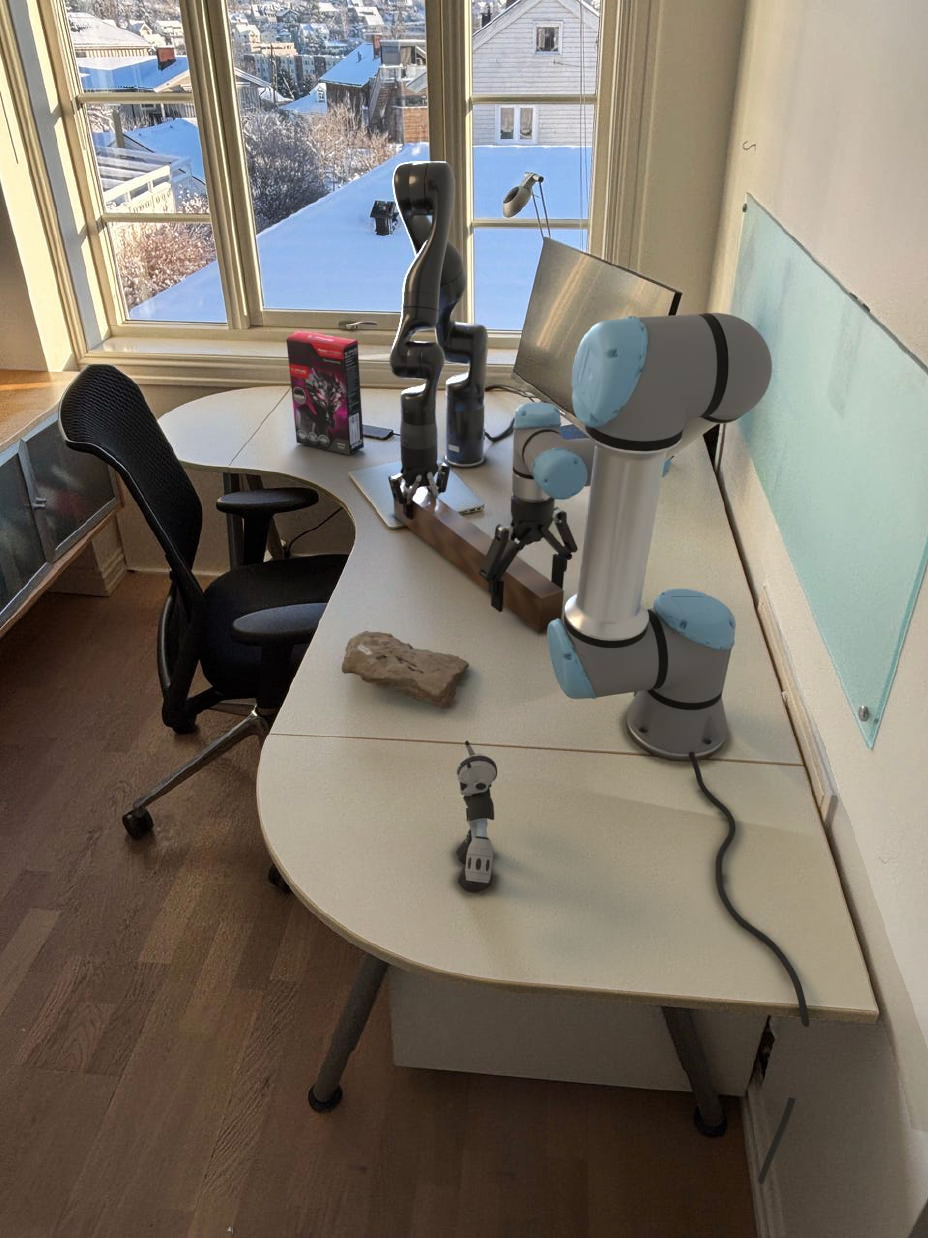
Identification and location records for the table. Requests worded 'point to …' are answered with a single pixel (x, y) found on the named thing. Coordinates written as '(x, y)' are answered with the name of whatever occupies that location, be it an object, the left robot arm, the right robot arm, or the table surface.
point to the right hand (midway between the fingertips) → (527, 597)
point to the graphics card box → (326, 391)
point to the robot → (476, 819)
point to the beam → (468, 550)
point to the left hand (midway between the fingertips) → (420, 514)
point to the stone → (404, 667)
